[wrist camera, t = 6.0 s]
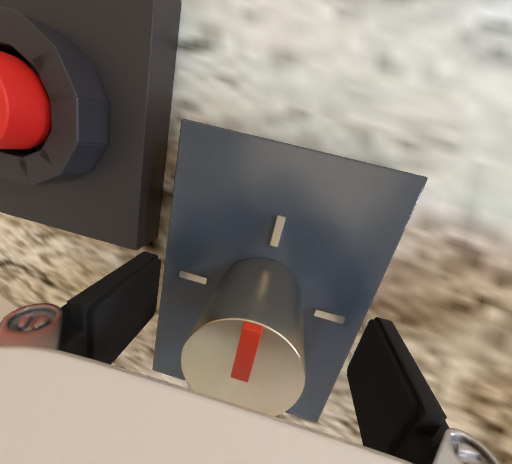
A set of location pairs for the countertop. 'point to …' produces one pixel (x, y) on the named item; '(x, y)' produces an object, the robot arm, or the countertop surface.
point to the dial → (250, 339)
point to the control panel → (280, 239)
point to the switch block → (94, 115)
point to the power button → (22, 105)
